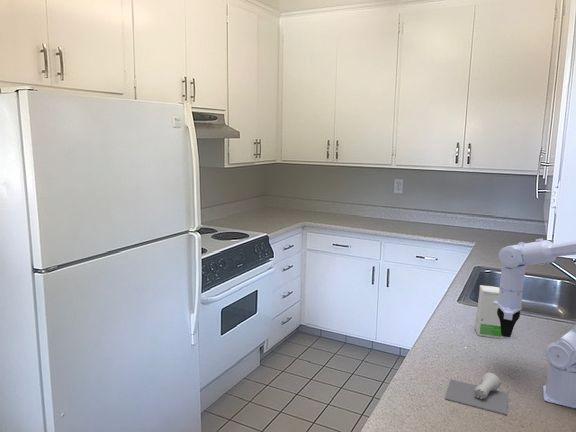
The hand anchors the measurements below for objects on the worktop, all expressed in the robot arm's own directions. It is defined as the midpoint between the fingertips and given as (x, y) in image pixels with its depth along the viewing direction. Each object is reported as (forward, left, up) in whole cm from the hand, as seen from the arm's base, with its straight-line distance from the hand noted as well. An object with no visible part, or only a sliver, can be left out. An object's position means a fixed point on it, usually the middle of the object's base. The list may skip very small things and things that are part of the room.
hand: (505, 335), depth 130 cm
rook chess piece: (+2, +12, -8) cm, 14 cm away
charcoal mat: (+5, +18, -10) cm, 21 cm away
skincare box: (+5, -26, -11) cm, 29 cm away
